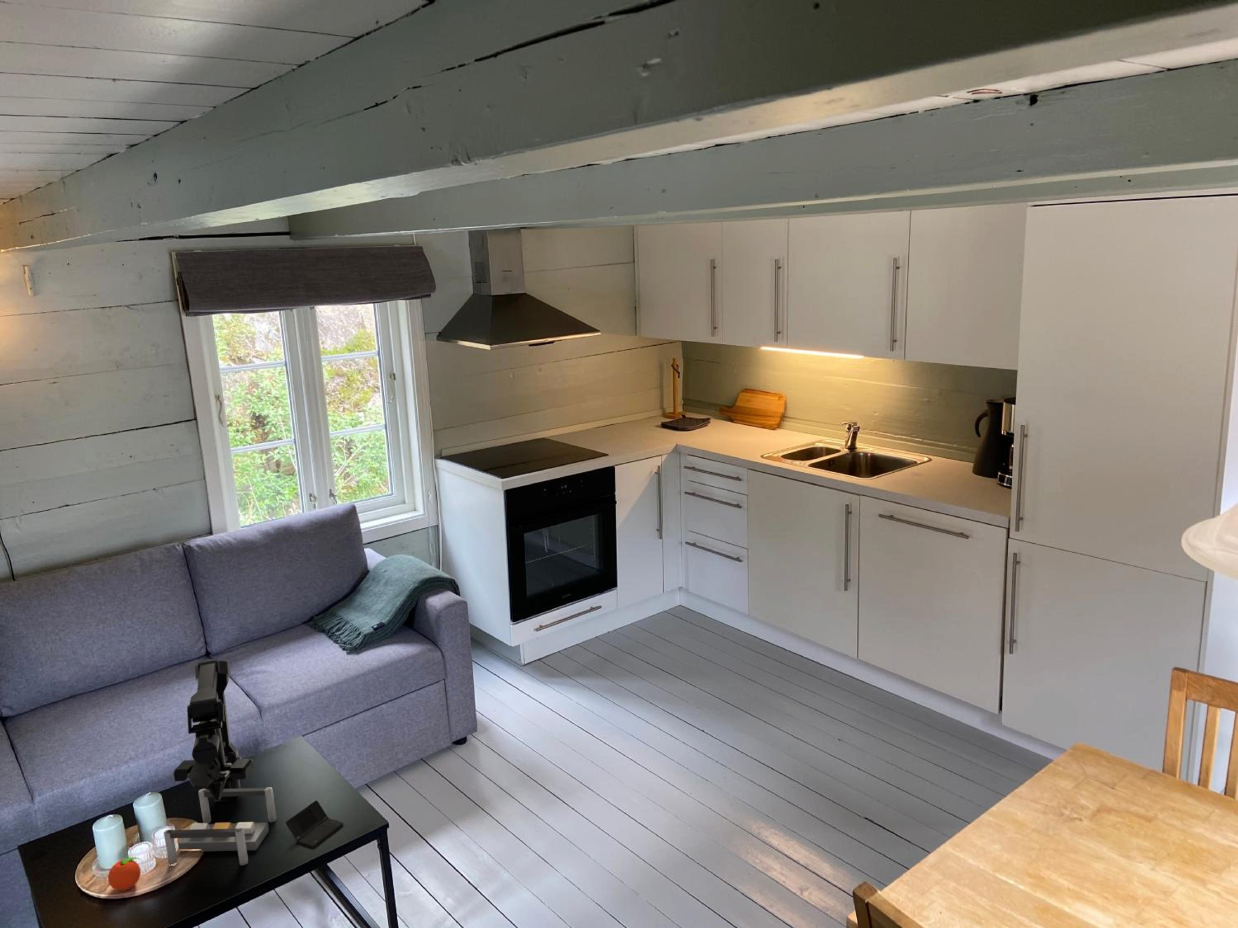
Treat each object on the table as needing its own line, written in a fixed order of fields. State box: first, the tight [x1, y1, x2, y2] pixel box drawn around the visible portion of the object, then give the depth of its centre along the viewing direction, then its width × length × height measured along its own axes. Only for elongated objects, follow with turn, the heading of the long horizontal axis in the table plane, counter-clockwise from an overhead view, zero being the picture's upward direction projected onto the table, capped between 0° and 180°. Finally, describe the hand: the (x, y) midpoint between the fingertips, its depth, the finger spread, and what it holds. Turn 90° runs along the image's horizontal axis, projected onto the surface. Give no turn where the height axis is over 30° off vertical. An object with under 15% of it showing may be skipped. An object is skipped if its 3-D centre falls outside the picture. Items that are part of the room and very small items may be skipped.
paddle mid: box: [213, 822, 232, 829], centre depth 236 cm, size 2×4×2 cm, turn 89°
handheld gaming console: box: [285, 800, 344, 849], centre depth 239 cm, size 12×7×10 cm
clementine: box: [107, 856, 143, 891], centre depth 220 cm, size 8×7×7 cm
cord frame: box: [163, 787, 277, 866], centre depth 236 cm, size 20×20×9 cm
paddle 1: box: [189, 822, 210, 830], centre depth 236 cm, size 2×4×2 cm, turn 88°
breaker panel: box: [177, 822, 270, 852], centre depth 237 cm, size 8×20×2 cm, turn 88°
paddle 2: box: [235, 821, 255, 834], centre depth 236 cm, size 2×4×2 cm, turn 89°
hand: (218, 799), depth 234 cm, fingers closed
